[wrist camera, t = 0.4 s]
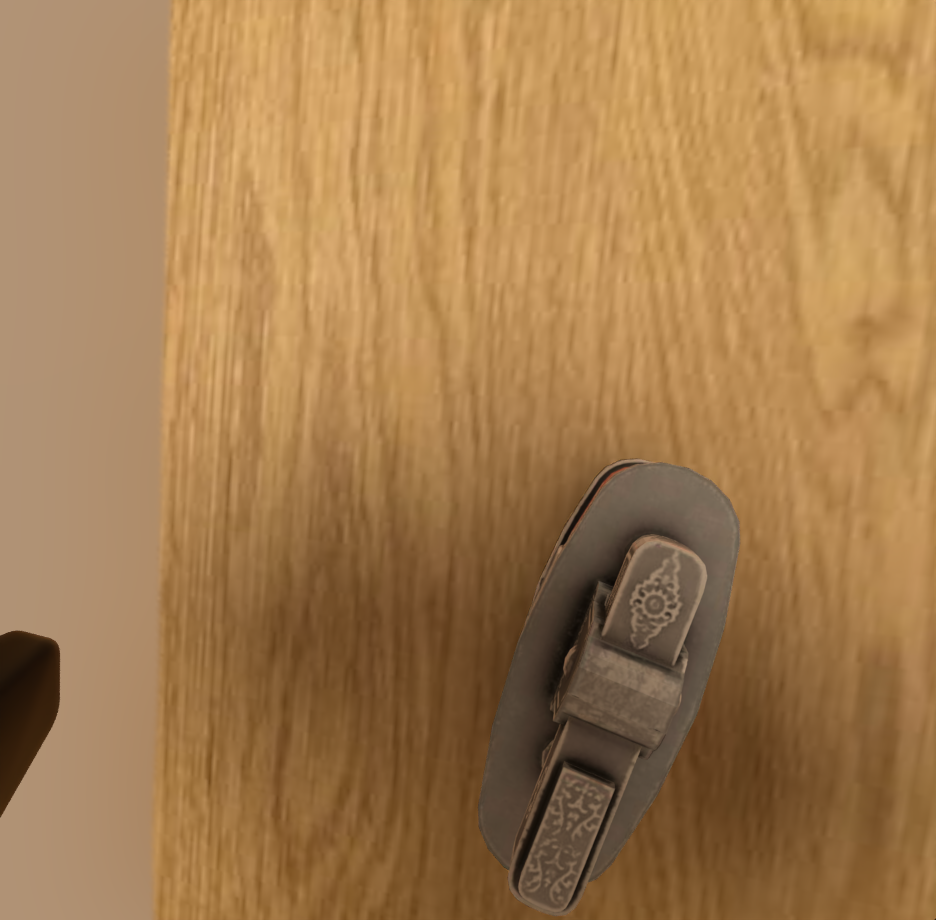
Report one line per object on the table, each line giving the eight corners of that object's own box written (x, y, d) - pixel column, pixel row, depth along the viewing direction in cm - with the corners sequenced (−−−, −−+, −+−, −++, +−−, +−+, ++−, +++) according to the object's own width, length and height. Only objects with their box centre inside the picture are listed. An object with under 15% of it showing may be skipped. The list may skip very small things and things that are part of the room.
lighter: (593, 439, 23) (601, 430, 13) (715, 485, 22) (822, 514, 12) (486, 716, 23) (412, 918, 13) (604, 766, 23) (620, 1013, 13)
